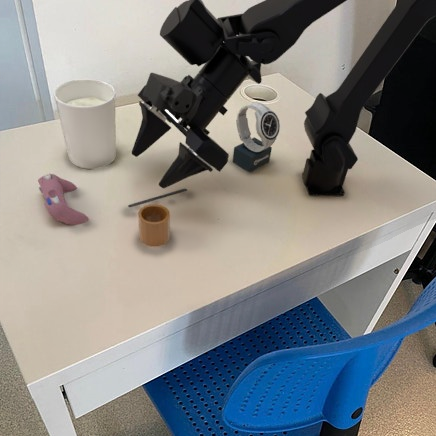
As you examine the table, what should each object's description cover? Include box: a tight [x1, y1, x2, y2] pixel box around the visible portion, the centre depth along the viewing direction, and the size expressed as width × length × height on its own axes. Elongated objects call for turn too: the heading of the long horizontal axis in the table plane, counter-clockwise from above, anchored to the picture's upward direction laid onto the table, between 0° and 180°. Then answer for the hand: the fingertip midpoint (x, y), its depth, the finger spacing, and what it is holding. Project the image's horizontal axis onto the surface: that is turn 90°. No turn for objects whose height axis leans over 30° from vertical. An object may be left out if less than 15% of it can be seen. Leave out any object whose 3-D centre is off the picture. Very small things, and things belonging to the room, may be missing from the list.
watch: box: [232, 101, 281, 173], centre depth 88 cm, size 6×8×11 cm
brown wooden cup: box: [137, 203, 171, 248], centre depth 73 cm, size 4×4×6 cm
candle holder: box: [53, 78, 117, 170], centre depth 85 cm, size 10×10×12 cm
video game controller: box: [37, 173, 90, 226], centre depth 76 cm, size 10×5×7 cm, turn 23°
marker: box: [127, 188, 188, 208], centre depth 81 cm, size 6×1×10 cm
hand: (146, 170), depth 76 cm, fingers open, 9 cm apart
